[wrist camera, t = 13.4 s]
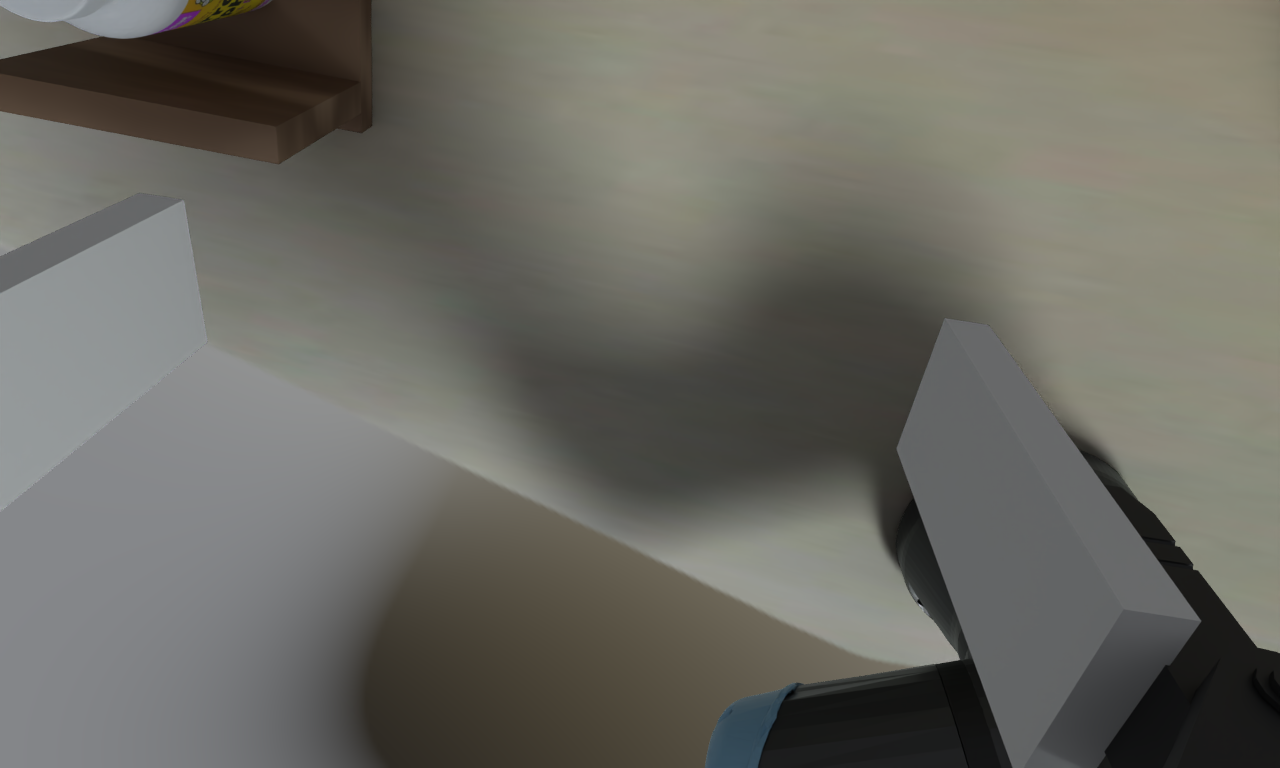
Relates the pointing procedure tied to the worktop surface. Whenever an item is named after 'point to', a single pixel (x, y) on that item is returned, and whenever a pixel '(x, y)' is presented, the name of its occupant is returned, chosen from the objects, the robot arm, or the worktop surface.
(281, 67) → the holder
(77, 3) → the supplement bottle
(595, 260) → the worktop surface
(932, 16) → the worktop surface
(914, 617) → the worktop surface
